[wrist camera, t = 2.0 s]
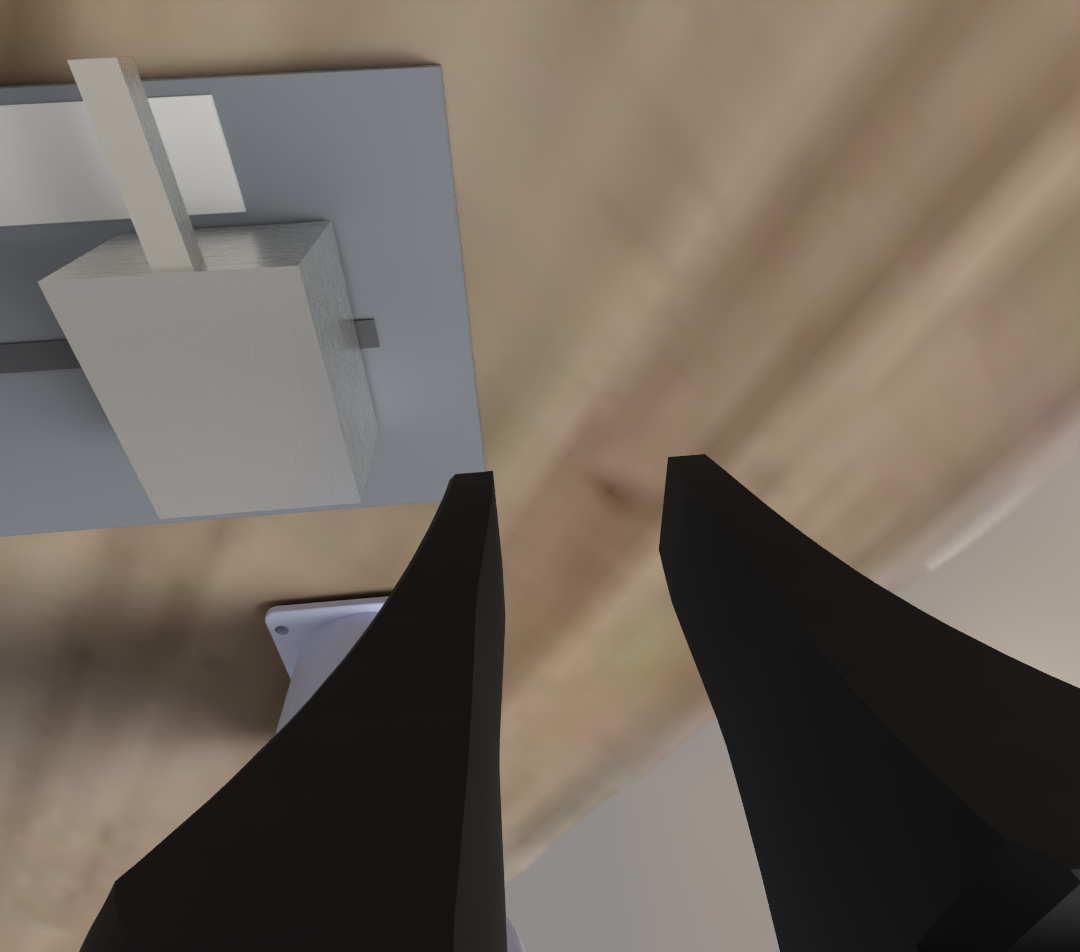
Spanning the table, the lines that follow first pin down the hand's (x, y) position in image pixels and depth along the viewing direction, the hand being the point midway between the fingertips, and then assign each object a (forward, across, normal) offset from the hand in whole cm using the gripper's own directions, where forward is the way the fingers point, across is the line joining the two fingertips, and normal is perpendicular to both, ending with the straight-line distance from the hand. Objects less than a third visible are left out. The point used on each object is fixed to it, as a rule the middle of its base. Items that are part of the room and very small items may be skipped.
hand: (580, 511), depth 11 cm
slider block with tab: (+8, +7, -2) cm, 11 cm away
